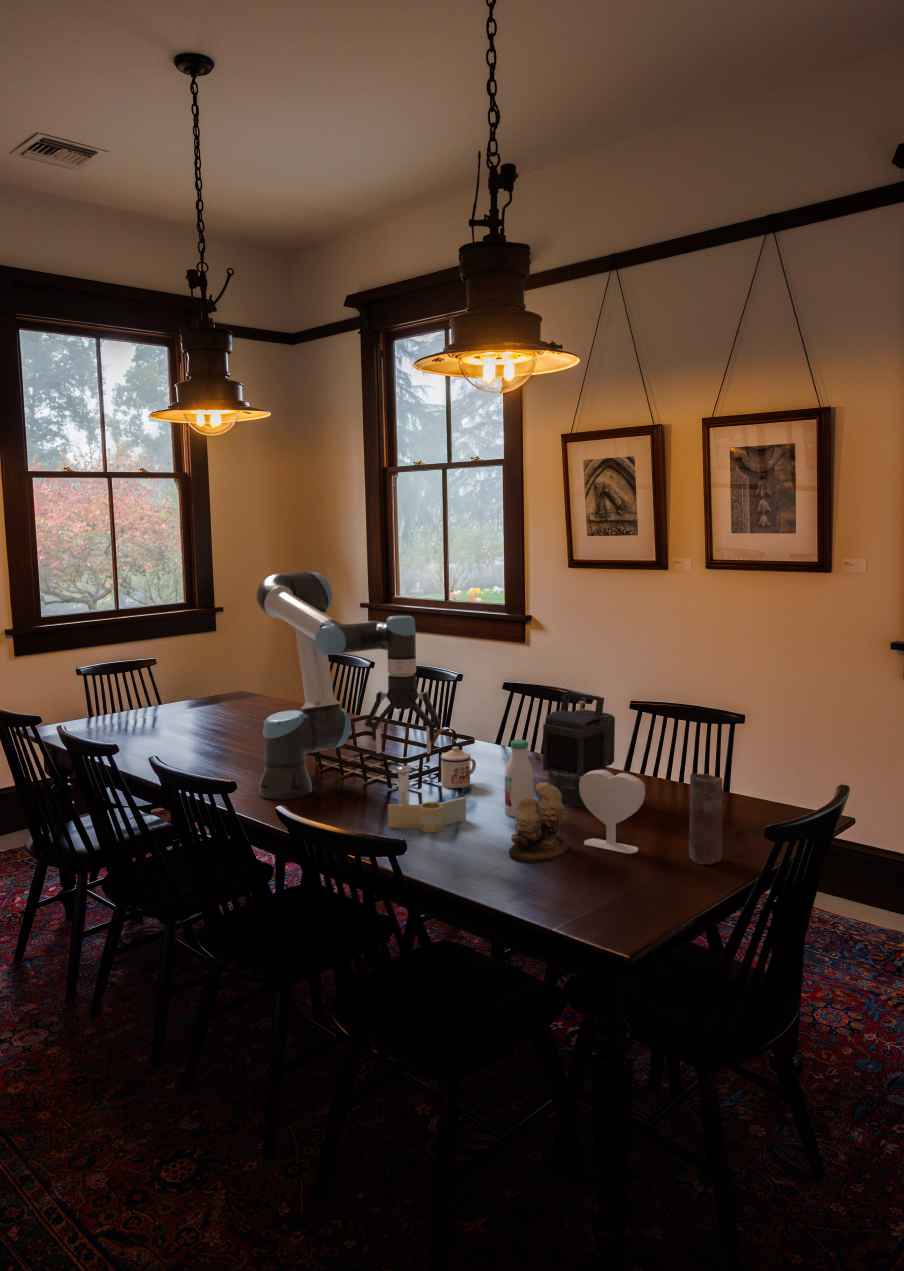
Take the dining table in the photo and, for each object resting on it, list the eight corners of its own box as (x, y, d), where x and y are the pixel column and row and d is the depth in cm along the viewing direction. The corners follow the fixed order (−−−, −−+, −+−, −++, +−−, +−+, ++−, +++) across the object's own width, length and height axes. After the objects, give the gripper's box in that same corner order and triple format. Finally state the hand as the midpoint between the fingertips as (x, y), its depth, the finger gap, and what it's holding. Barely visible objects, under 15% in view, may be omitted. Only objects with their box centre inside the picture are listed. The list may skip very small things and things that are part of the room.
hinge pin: (395, 815, 233) (394, 769, 231) (398, 811, 236) (397, 765, 235) (410, 816, 232) (409, 769, 231) (412, 811, 236) (411, 765, 235)
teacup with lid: (452, 791, 254) (452, 752, 253) (434, 784, 262) (434, 746, 260) (484, 784, 261) (484, 746, 260) (466, 777, 269) (466, 740, 267)
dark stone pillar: (683, 854, 203) (685, 771, 201) (714, 853, 204) (716, 770, 202) (695, 866, 196) (697, 780, 193) (726, 865, 196) (729, 779, 194)
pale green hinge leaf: (428, 834, 218) (428, 811, 217) (414, 827, 223) (414, 805, 222) (472, 822, 227) (472, 800, 226) (457, 816, 232) (457, 794, 231)
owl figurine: (541, 835, 217) (542, 769, 215) (581, 847, 209) (582, 778, 207) (496, 855, 203) (497, 785, 201) (538, 868, 196) (539, 795, 194)
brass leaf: (386, 831, 221) (386, 808, 220) (390, 823, 227) (390, 800, 226) (441, 833, 219) (441, 810, 218) (444, 824, 225) (444, 802, 224)
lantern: (537, 800, 245) (537, 696, 242) (573, 786, 258) (574, 687, 255) (581, 811, 235) (582, 702, 231) (617, 796, 248) (618, 693, 244)
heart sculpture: (645, 848, 207) (646, 775, 205) (637, 855, 203) (638, 780, 201) (585, 836, 216) (586, 766, 213) (576, 842, 211) (577, 771, 209)
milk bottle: (536, 810, 236) (536, 739, 234) (529, 819, 229) (529, 745, 226) (509, 808, 239) (509, 737, 236) (501, 816, 231) (501, 743, 229)
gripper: (352, 676, 228) (355, 755, 230) (446, 676, 225) (448, 756, 227) (359, 671, 235) (361, 748, 237) (450, 672, 232) (451, 749, 234)
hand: (403, 752), depth 232 cm, fingers open, 13 cm apart
